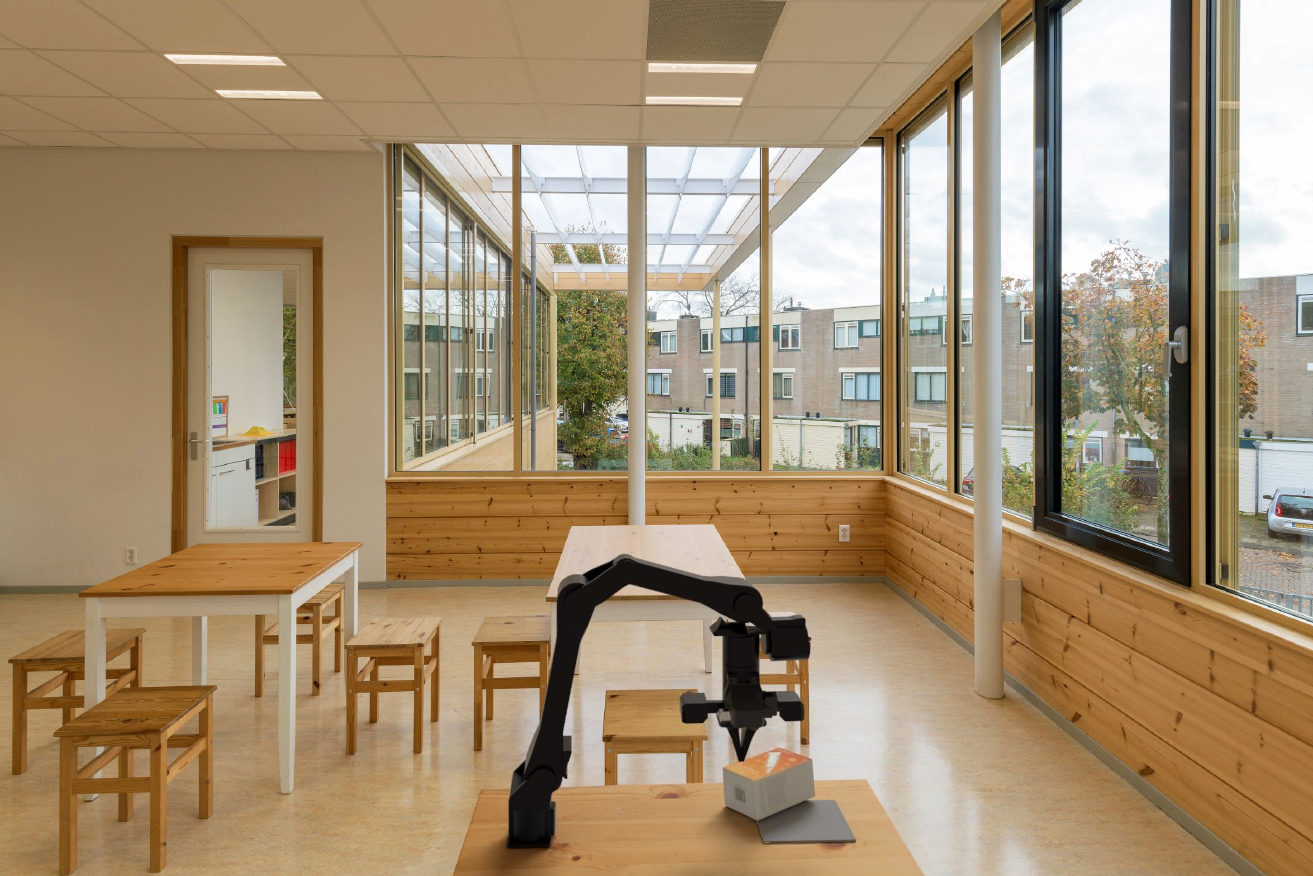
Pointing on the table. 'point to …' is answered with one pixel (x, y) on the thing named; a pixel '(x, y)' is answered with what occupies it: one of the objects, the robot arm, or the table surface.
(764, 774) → the small box
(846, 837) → the mat
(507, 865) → the table surface
